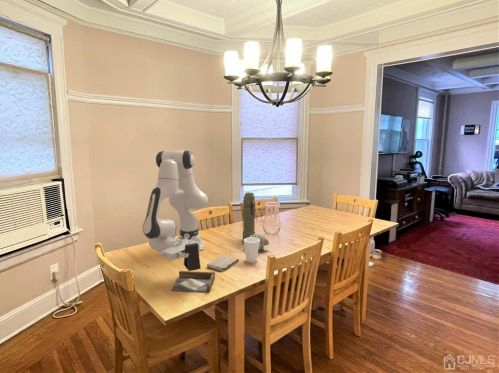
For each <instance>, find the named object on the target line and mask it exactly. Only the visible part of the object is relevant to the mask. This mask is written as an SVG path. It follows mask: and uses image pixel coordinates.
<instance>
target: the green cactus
mask: <svg viewBox="0 0 499 373" xmlns="http://www.w3.org/2000/svg"><path fill="white" fill-rule="evenodd" d="M255 200H256V199H255V194H254V193H253V192H245V193H244V196H243V200H242V202H243V206H242V207H243V209H242V218H243V219H242V220H243V221H242V222H243V226H242V227H243V229H242V230H243V231H242V242H243V241H244V239H245V238H249V237H250V235H252V236H253V234H255V235H256V231H255V223H256V222H255V219H256V201H255Z"/></svg>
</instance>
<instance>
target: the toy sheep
mask: <svg viewBox="0 0 499 373" xmlns="http://www.w3.org/2000/svg"><path fill="white" fill-rule="evenodd" d="M264 236H265V235H263V234H258V233H255V234H253V236H252V235H250V237H254V238H258V239H259V240H260V244H259V249H258V251H259V250H261V252H262V251H263V252H265V246H268V245H269V243H270V241H269V240H268V239H267V238H266V237H264ZM242 242H243V244H244V241H243V240H242Z"/></svg>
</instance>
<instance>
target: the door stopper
mask: <svg viewBox="0 0 499 373" xmlns="http://www.w3.org/2000/svg"><path fill="white" fill-rule="evenodd" d="M185 253H187V254H189V256H188V257H187V258H185V257H183V258H184V259H183V265H184V267H185V268H186V270H187V271H191V272H194V271H196V270H198V271H199V270H201V269H202V268H201V261H200V260H201V259H200V251H199V250H198V243H193V244H187V245H185Z"/></svg>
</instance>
